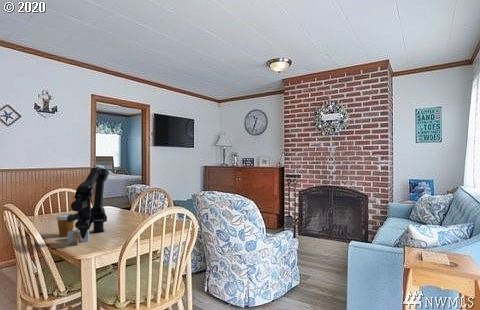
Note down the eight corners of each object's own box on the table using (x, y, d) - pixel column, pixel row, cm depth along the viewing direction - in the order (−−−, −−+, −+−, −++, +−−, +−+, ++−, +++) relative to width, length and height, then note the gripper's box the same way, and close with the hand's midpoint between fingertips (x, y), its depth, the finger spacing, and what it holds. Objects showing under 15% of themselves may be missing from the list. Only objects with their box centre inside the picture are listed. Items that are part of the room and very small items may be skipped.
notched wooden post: (78, 238, 164) (78, 228, 164) (81, 238, 165) (82, 227, 165) (72, 245, 151) (72, 234, 151) (76, 245, 152) (77, 234, 152)
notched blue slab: (68, 242, 158) (68, 231, 158) (88, 240, 161) (89, 229, 161) (67, 243, 155) (67, 232, 155) (88, 241, 159) (88, 230, 159)
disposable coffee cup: (78, 233, 175) (78, 213, 175) (69, 237, 165) (69, 217, 165) (62, 233, 175) (62, 213, 175) (52, 237, 165) (52, 217, 165)
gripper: (72, 205, 165) (71, 232, 165) (64, 212, 148) (63, 242, 148) (93, 204, 169) (93, 231, 169) (88, 210, 151) (88, 240, 151)
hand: (84, 236), depth 159 cm, fingers open, 9 cm apart
